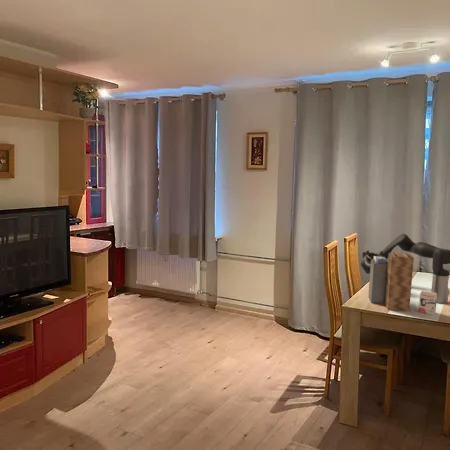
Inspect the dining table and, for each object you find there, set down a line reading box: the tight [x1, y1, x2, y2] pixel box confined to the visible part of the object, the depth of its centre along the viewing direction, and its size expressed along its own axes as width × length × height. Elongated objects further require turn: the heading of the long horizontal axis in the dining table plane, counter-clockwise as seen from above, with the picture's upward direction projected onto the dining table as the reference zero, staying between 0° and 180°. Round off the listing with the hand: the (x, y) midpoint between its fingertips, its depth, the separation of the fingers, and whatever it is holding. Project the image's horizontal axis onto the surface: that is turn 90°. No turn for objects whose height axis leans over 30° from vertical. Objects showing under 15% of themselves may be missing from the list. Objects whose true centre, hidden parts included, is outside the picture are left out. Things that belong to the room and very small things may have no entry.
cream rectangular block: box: [374, 256, 386, 264], centre depth 297 cm, size 5×22×6 cm, turn 170°
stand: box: [384, 251, 414, 312], centre depth 277 cm, size 12×11×33 cm
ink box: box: [418, 290, 437, 316], centre depth 272 cm, size 8×5×12 cm, turn 56°
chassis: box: [367, 259, 388, 305], centre depth 293 cm, size 10×15×25 cm, turn 170°
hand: (374, 252), depth 315 cm, fingers open, 8 cm apart
